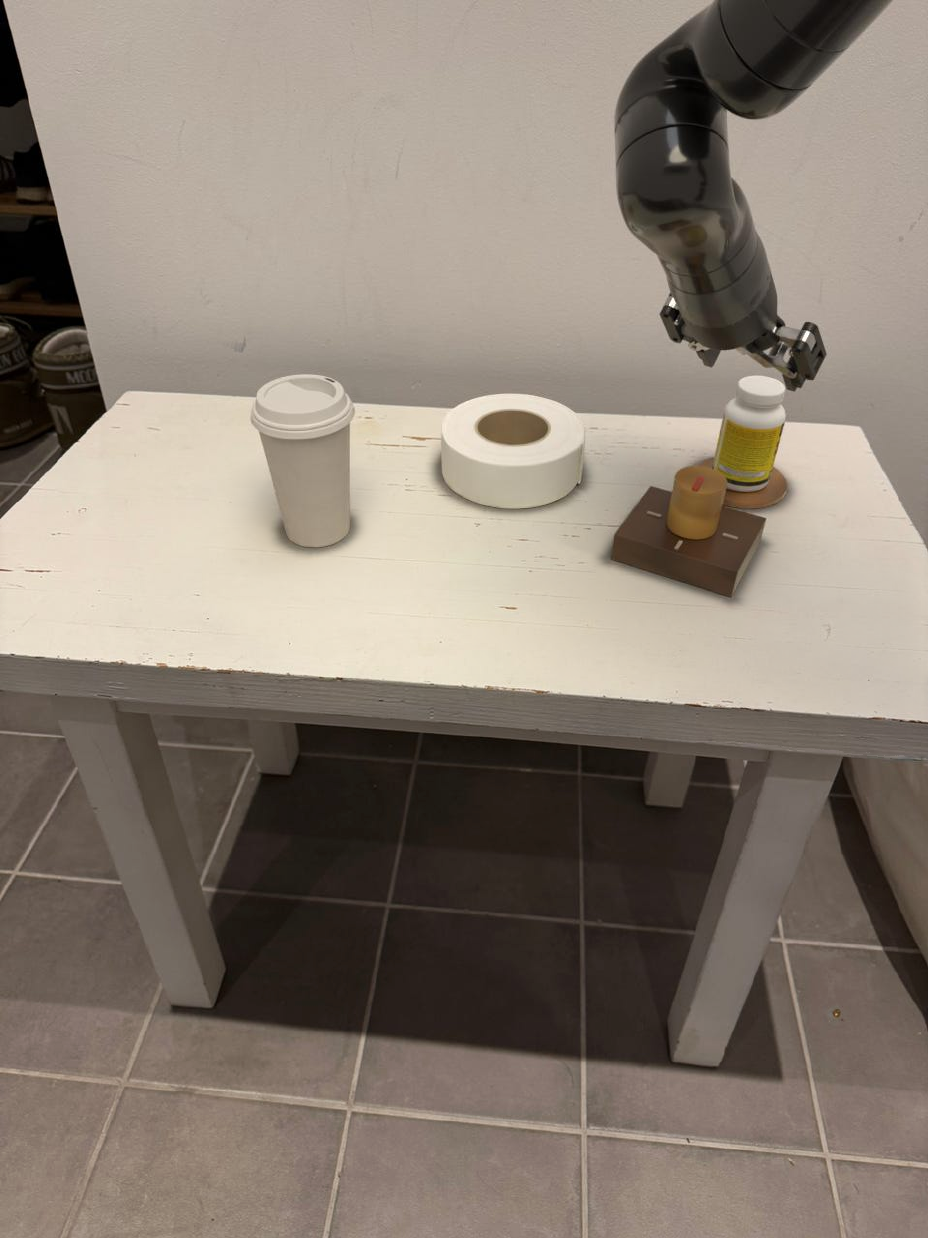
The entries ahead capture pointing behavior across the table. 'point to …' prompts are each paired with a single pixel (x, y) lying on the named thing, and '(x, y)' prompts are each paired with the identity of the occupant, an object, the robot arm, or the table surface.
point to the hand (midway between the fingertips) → (753, 369)
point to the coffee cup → (308, 454)
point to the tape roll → (512, 450)
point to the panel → (688, 545)
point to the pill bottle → (751, 434)
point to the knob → (696, 502)
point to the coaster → (757, 498)
